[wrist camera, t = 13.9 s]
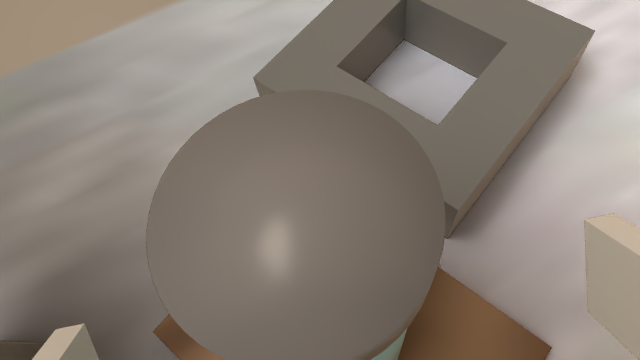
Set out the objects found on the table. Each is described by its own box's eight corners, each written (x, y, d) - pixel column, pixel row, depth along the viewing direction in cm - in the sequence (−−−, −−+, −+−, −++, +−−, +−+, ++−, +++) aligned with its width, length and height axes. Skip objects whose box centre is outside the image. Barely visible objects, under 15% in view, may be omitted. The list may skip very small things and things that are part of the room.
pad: (160, 335, 27) (152, 331, 26) (303, 178, 30) (301, 170, 29) (402, 580, 21) (404, 586, 20) (545, 350, 24) (552, 347, 24)
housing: (266, 116, 33) (253, 77, 29) (392, -11, 37) (394, -59, 33) (447, 238, 27) (458, 210, 24) (570, 75, 32) (595, 30, 28)
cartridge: (259, 349, 25) (87, 237, 10) (334, 259, 27) (280, 49, 12) (353, 435, 23) (308, 452, 8) (428, 331, 24) (505, 185, 10)
